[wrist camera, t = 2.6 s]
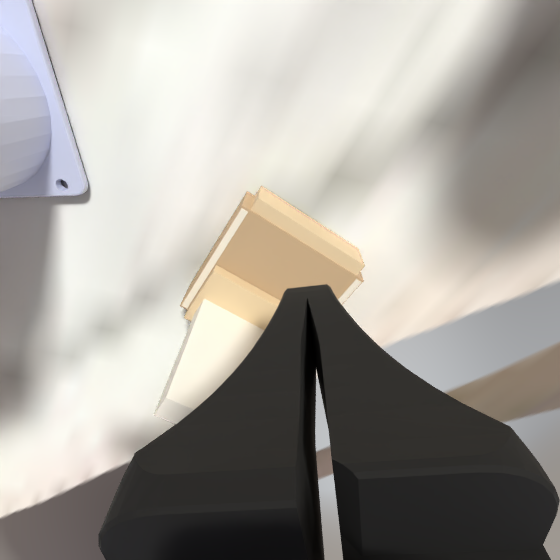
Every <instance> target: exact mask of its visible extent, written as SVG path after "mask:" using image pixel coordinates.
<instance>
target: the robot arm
mask: <svg viewBox="0 0 560 560" xmlns="http://www.w3.org/2000/svg"><path fill="white" fill-rule="evenodd" d="M61 179H62V180H64V181H65V182H66V183H67V185H68V188H65V187H64V186H62V184H61ZM87 189H88V182H87V178H86V175H85V172H84V169H83V165H82V162H81V159H80V156H79V152H78V149H77V146H76V143H75V139H74V136H73V133H72V130H71V127H70V123H69V120H68V117H67V114H66V110H65V107H64V104H63V101H62V97H61V94H60V91H59V88H58V84H57V81H56V78H55V75H54V72H53V68H52V65H51V62H50V59H49V55H48V52H47V49H46V46H45V42H44V39H43V36H42V33H41V29H40V26H39V23H38V20H37V17H36V13H35V10H34V7H33V4H32V0H0V198H17V197H49V196H78V195H81V194H83V193H85V192H86V191H87ZM316 369H317V374H318V379H319V384H320V389H321V394H322V399H323V404H324V409H325V414H326V419H327V424H328V428H329V436H330V446H331V456H332V465H333V473H334V481H335V490H336V499H337V506H338V507H337V508H338V515H339V524H340V533H341V542H342V551H343V560H551V559H550V557H549V555H548V553H547V552H546V550H545V548H544V546H543V543H544V541H545V539H546V536H547V534H548V532H549V530H550V528H551V526H552V523H553V521H554V519H555V517H556V514H557V510H558V505H559V497H558V494H557V492H556V489H555V487H554V486H553V484H552V482H551V481H550V479H549V478H548V476H547V474H546V473H545V471H544V470H543V468H542V467H541V465H540V464H539V462H538V461H537V460H536V458H535V457H534V456H533V455H532V453H531V452H530V451H529V449H528V448H527V447H526V445H525V444H524V443H523V442H522V441H521V439H520V438H519V437H518V436H517V434H516V433H515V432H514V431H513V429H512V428H511V427H510V426H508V425H506V424H503V423H501V422H499V421H497V420H495V419H493V418H491V417H489V416H487V415H485V414H483V413H481V412H479V411H477V410H475V409H473V408H471V407H469V406H467V405H465V404H463V403H461V402H459V401H457V400H456V399H454V398H452V397H450V396H449V395H447V394H445V393H443V392H442V391H440V390H438V389H436V388H435V387H433V386H432V385H430V384H429V383H427V382H426V381H424V380H423V379H421V378H420V377H418V376H417V375H415V374H413V373H412V372H411V371H409V370H408V369H406V368H405V367H404V366H402V365H401V364H400V363H399V362H397V361H396V360H395V359H394V358H392V357H391V356H390V355H389V354H388V353H386V352H385V351H384V350H383V349H382V348H381V347H380V346H378V345H377V344H376V343H375V342H374V341H373V340H372V339H371V338H370V337H369V336H368V335H367V334H366V333H365V332H364V331H363V330H362V329H361V328H360V327H359V325H358V324H357V323H356V322H355V321H354V320H353V318H352V317H351V316H350V315H349V314H348V313H347V311H346V310H345V309H344V307H343V306H342V305H341V303H340V302H339V300H338V299H337V298H336V296H335V294H334V293H333V291H332V289H331V287H330V286H329V285H327V284H324V285H315V286H306V287H297V288H288V289H286V290H285V292H284V294H283V296H282V299H281V301H280V303H279V305H278V307H277V309H276V311H275V313H274V315H273V317H272V318H271V320H270V322H269V324H268V325H267V327H266V329H265V330H264V332H263V333H262V335H261V336H260V338H259V339H258V341H257V342H256V344H255V345H254V347H253V348H252V350H251V351H250V352H249V353H248V355H247V356H246V357H245V359H244V360H243V361H242V362H241V364H240V365H239V366H238V367H237V368H236V369H235V371H234V372H233V373H232V374H231V375H230V376H229V377H228V378H227V379H226V380H225V381H224V382H223V384H222V385H221V386H220V387H219V388H218V389H217V390H216V391H215V392H214V393H213V394H212V395H210V396H209V397H208V398H207V399H206V400H205V401H204V402H203V403H201V404H200V405H199V406H198V407H197V408H196V409H194V410H193V411H192V412H191V413H190V414H188V415H187V416H186V417H185V418H183V419H182V420H181V421H180V422H178V423H177V424H176V425H174V426H173V427H172V428H170V429H169V430H167V431H166V432H165V433H163V434H162V435H160V436H159V437H158V438H156V439H155V440H153V441H152V442H151V443H149V444H148V445H146V446H145V447H144V448H142V449H141V450H139V451H138V452H136V453H135V455H134V457H133V459H132V461H131V463H130V464H129V466H128V468H127V470H126V472H125V474H124V476H123V478H122V480H121V483H120V485H119V487H118V489H117V492H116V494H115V496H114V499H113V501H112V504H111V506H110V509H109V511H108V513H107V516H106V519H105V521H104V523H103V526H102V528H101V531H100V533H99V547H100V550H101V552H102V554H103V555H104V557H105V559H106V560H324V548H323V536H322V525H321V512H320V499H319V487H318V474H317V461H316V448H315V405H316V404H315V402H316Z"/></svg>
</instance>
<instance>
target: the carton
mask: <svg viewBox="0 0 560 560" xmlns="http://www.w3.org/2000/svg"><path fill="white" fill-rule="evenodd" d="M216 265H217V266H219V267H221V268H223V269H225V270H226V271H228V272H230V273H232V274H234V275H235V276H237V277H239V278H241V279H243V280H244V281H246V282H248V283H250V284H251V285H253V286H255V287H257V288H259V289H260V290H262V291H264V292H266V293H268V294H269V295H271V296H273V297H275V298H277V299H278V300H280V301H281V299H282V296H283V294H284V292H285V290H286V289H288V288H297V287H306V286H315V285H324V284H327V285H329V286H330V287H331V289H332V291H333V293H334V294H335V296H336V298H337V299H338V300H339V302H340V303H341V305H342V304H343V303H344V302H345V301H346V300H347V299H348V298H349V297H350V295H351V294H352V293H353V292H354V291H355V290H356V289H357V288H358V287H359V285H360V284H361V283H362V282H363V281H364V280H363V278H362V275H361V272H360V271H361V270H362V269H363V268H364V266H365V265H364V262H363V259H362V257H361V254H360V252H359V249H358V248H357V247H355V246H353V245H352V244H350V243H349V242H347V241H346V240H344V239H343V238H341V237H340V236H338V235H336V234H335V233H333V232H332V231H330V230H329V229H327V228H326V227H324V226H323V225H321V224H319V223H318V222H316V221H315V220H313V219H312V218H310V217H309V216H307V215H306V214H304V213H302V212H301V211H299V210H298V209H296V208H295V207H293V206H292V205H290V204H289V203H287V202H285V201H284V200H282V199H281V198H279V197H278V196H276V195H275V194H273V193H272V192H270V191H268V190H267V189H265V188H264V187H262V186H261V187H260V189H259V190H258V192H257V194H256V195H255V196H254V195H252V194H251V193H249V192H246V194H245V196H244V197H243V199H242V201H241V202H240V204H239V206H238V207H237V209H236V210H235V212H234V214H233V215H232V217H231V219H230V220H229V222H228V223H227V225H226V227H225V228H224V230H223V232H222V233H221V235H220V237H219V238H218V240H217V241H216V243H215V245H214V246H213V248H212V250H211V251H210V253H209V254H208V256H207V258H206V259H205V261H204V263H203V264H202V266H201V268H200V269H199V271H198V272H197V274H196V276H195V277H194V279H193V281H192V282H191V284H190V286H189V288H188V290H187V292H186V294H185V296H184V298H183V300H182V302H181V305H180V306H181V307H183V308H185V309H187V310H188V308H189V307H190V305H191V304H192V302H193V300H194V299H195V297H196V296H197V294H198V293H199V291H200V289H201V288H202V286H203V285H204V283H205V282H206V280H207V278H208V277H209V275H210V274H211V272H212V271H213V269H214V267H215V266H216Z"/></svg>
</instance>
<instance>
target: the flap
mask: <svg viewBox="0 0 560 560" xmlns="http://www.w3.org/2000/svg"><path fill="white" fill-rule="evenodd" d="M279 303H280V300H278V299H277V298H275V297H273V296H271V295H269V294H268V293H266V292H264V291H262V290H260V289H259V288H257V287H255V286H253V285H251V284H250V283H248V282H246V281H244V280H243V279H241V278H239V277H237V276H235V275H234V274H232V273H230V272H228V271H226V270H225V269H223V268H221V267H219V266H217V265H216V266H215V267H214V269H213V271H212V272H211V274H210V275H209V277H208V278H207V280H206V282H205V283H204V285H203V286H202V288H201V289H200V291H199V293H198V294H197V296H196V297H195V299H194V300H193V302H192V304H191V305H190V307H189V308H188V310H187V312H186V314H185V316H184V318H185V319H187V320H189V321H191V323H190V326H189V328H188V331H187V333H186V336H185V338H184V341H183V343H182V346H181V348H180V351H179V353H178V356H177V358H176V361H175V363H174V366H173V368H172V371H171V373H170V375H169V378H168V380H167V383H166V385H165V388H164V390H163V393H162V395H161V398H160V400H159V403H158V405H157V408H156V410H155V413H154V416H156V417H159V418H161V419H164V420H166V421H169V422H171V423H173V424H177V423H178V422H180V421H181V420H182V419H183V418H185V417H186V416H187V415H188V414H190V413H191V412H192V411H193V410H194V409H196V408H197V407H198V406H199V405H200V404H201V403H203V402H204V401H205V400H206V399H207V398H208V397H209V396H210V395H212V394H213V393H214V392H215V391H216V390H217V389H218V388H219V387H220V386H221V385H222V384H223V382H224V381H225V380H226V379H227V378H228V377H229V376H230V375H231V374H232V373H233V372H234V371H235V369H236V368H237V367H238V366H239V365H240V364H241V362H242V361H243V360H244V359H245V357H246V356H247V355H248V353H249V352H250V351H251V350H252V348H253V347H254V345H255V344H256V342H257V341H258V339H259V338H260V336H261V335H262V333H263V332H264V330H265V329H266V327H267V325H268V324H269V322H270V320H271V318H272V317H273V315H274V313H275V311H276V309H277V307H278V305H279Z"/></svg>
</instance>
